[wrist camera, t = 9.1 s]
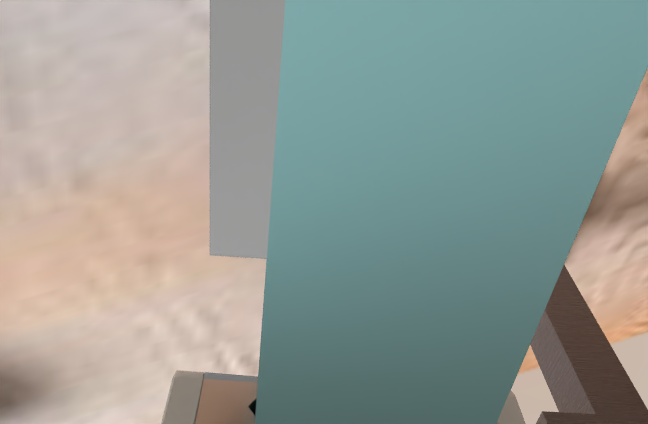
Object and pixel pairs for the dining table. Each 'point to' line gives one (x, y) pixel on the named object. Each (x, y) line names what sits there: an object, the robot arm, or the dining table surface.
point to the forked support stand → (582, 364)
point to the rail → (430, 196)
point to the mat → (243, 122)
